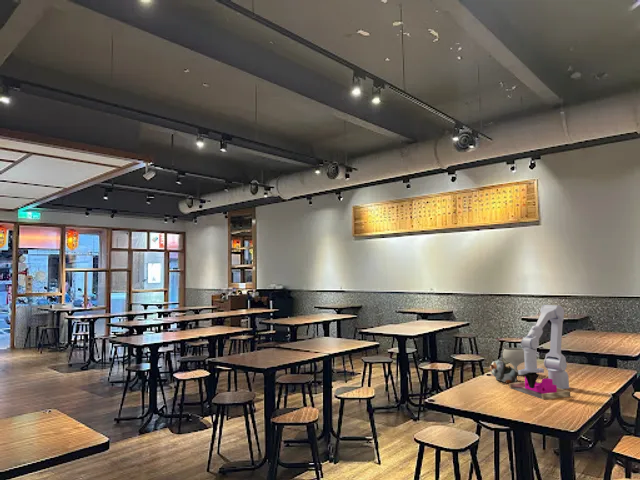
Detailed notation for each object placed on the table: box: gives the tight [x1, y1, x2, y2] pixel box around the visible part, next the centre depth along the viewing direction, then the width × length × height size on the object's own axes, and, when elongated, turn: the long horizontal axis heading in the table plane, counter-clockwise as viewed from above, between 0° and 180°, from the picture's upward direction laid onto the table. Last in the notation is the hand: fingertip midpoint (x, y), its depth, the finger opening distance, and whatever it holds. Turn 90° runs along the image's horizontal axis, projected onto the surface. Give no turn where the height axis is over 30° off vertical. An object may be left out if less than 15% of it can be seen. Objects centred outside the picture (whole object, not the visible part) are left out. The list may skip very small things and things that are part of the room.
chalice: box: [502, 347, 525, 376], centre depth 275 cm, size 14×14×15 cm
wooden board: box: [508, 381, 571, 400], centre depth 231 cm, size 16×24×2 cm
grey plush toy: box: [489, 359, 519, 385], centre depth 257 cm, size 15×12×14 cm
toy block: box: [524, 376, 557, 394], centre depth 231 cm, size 15×6×8 cm, turn 16°
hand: (531, 387), depth 230 cm, fingers closed
